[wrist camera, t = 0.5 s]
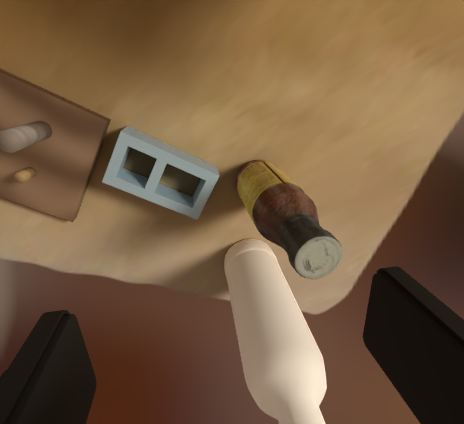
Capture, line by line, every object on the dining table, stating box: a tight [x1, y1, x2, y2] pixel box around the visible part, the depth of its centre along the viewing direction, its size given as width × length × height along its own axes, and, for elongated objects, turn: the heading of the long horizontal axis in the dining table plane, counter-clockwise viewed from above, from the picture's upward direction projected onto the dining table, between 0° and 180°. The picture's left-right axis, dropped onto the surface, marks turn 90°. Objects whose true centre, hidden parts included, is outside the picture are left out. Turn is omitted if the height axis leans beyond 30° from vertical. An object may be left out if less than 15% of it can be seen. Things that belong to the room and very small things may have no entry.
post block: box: [0, 69, 110, 222], centre depth 32 cm, size 14×12×8 cm
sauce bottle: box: [236, 160, 342, 279], centre depth 32 cm, size 6×6×20 cm
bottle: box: [224, 239, 327, 424], centre depth 32 cm, size 8×8×30 cm
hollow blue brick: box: [102, 126, 219, 220], centre depth 36 cm, size 12×6×4 cm, turn 63°
